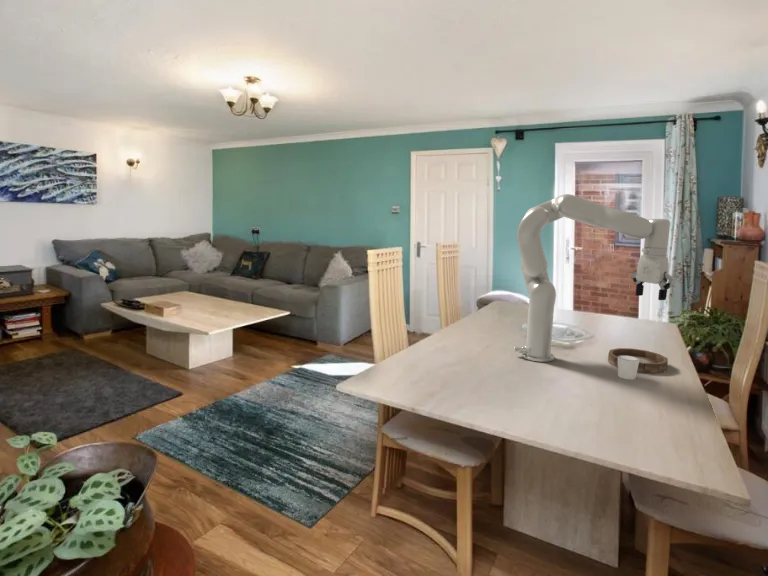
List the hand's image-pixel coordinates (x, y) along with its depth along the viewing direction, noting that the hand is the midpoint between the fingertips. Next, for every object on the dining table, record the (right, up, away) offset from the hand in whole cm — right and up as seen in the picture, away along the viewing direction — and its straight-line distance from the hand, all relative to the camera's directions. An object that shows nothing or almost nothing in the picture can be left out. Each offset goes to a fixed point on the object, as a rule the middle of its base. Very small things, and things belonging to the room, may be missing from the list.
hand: (650, 297), depth 173 cm
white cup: (-14, -28, -9) cm, 33 cm away
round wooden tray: (-3, -26, +4) cm, 27 cm away
